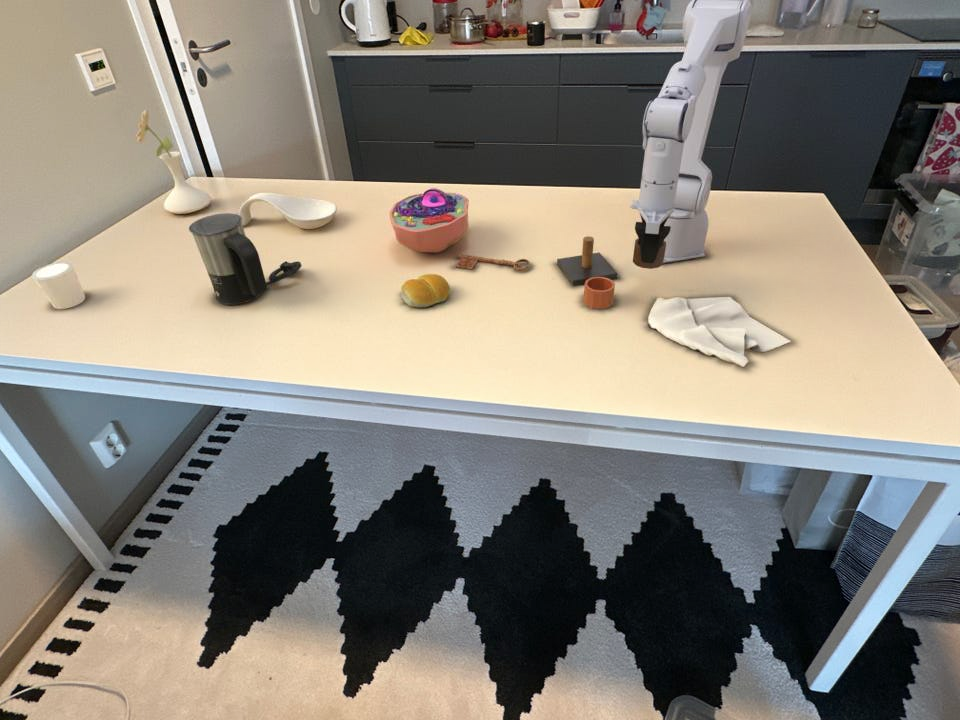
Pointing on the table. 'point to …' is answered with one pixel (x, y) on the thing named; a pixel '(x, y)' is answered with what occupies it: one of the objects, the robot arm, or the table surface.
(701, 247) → the robot arm
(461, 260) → the key
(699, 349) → the cloth
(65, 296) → the white short cylinder
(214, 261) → the milk frother
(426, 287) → the bread roll
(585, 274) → the peg stand
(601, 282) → the terracotta ring
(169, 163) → the flower in vase
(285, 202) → the spoon rest
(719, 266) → the table surface
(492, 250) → the table surface
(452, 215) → the cell model
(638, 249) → the walnut ring
